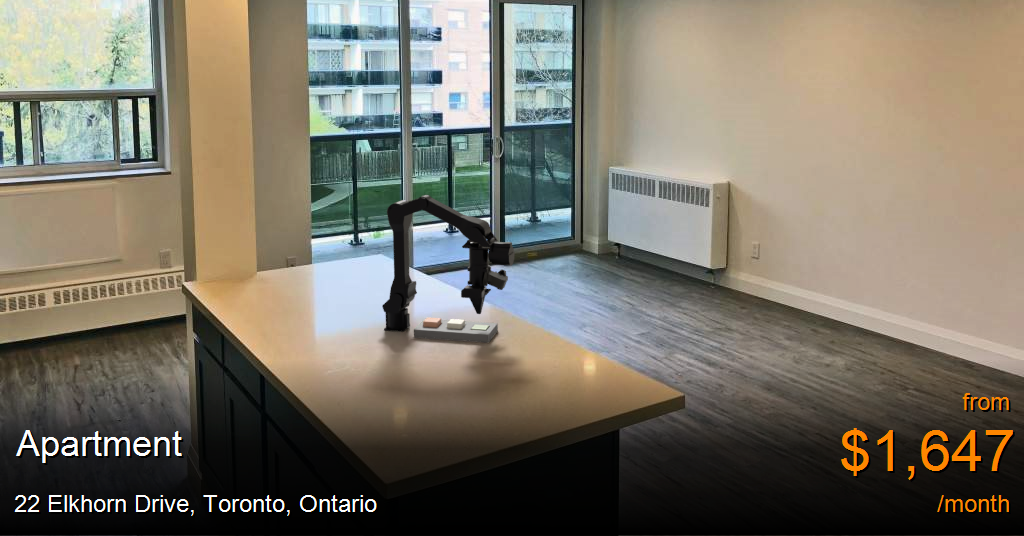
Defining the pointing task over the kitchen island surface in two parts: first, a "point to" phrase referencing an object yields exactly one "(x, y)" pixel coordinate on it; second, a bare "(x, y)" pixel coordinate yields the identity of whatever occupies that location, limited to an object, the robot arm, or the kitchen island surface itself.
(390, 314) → the robot arm
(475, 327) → the sage button
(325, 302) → the kitchen island surface
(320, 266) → the kitchen island surface
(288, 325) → the kitchen island surface
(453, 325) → the cream button
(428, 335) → the button panel
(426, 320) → the terracotta button
